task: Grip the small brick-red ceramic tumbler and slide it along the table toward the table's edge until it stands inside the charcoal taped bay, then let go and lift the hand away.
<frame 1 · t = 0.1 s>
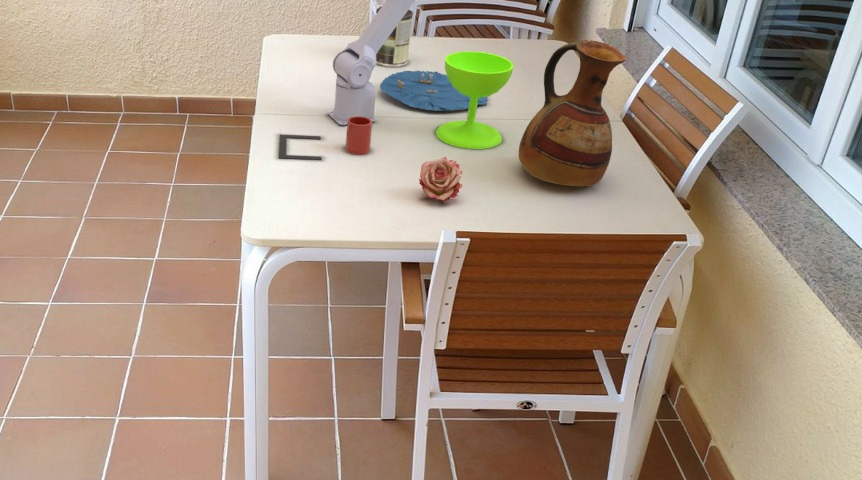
wineglass: (468, 136, 235), on the table
flower: (438, 199, 205), on the table
decorative plate: (430, 94, 258), on the table
tumbler: (357, 149, 224), on the table
ceramic pitcher: (559, 178, 217), on the table
tape bay: (305, 147, 223), on the table
coffee can: (390, 62, 278), on the table
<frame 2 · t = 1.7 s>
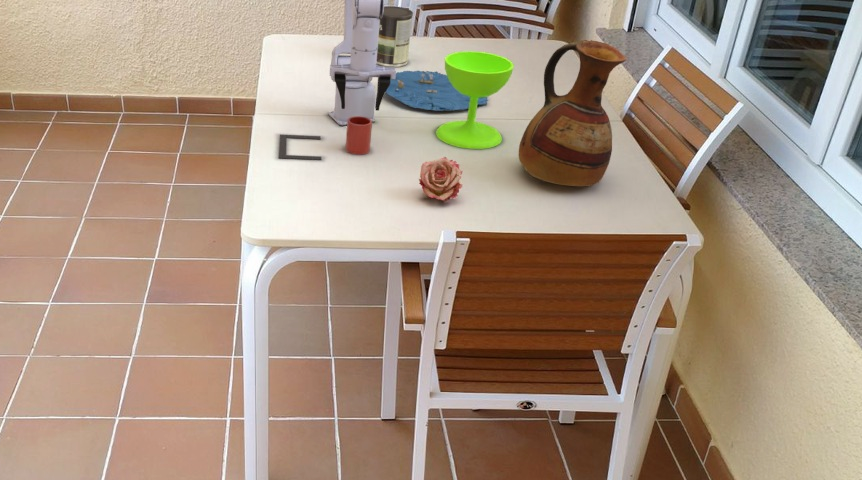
hand: (360, 108, 218), 10 cm above the table, tool pointing down, fingers open, 7 cm apart
nothing on the table moved.
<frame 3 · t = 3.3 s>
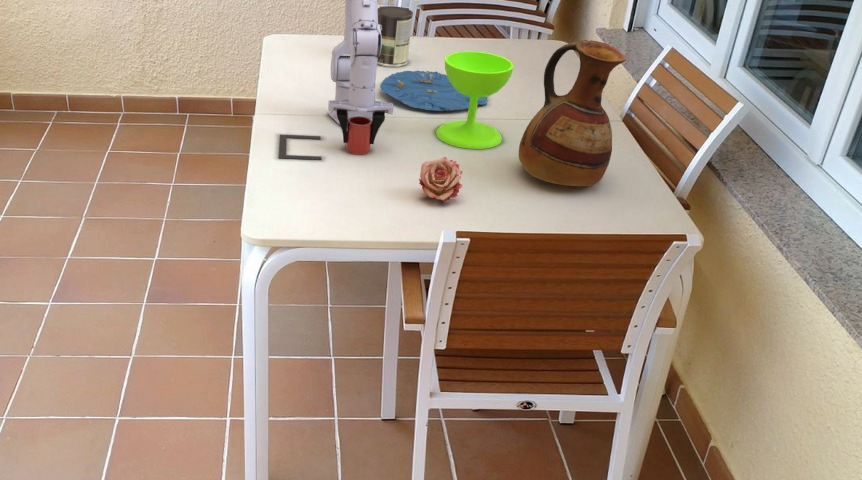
hand: (358, 142, 222), 2 cm above the table, tool pointing down, fingers closed on tumbler, 5 cm apart
tumbler: (357, 149, 224), on the table, touching gripper
everything else where it was.
when the fingers open (2 cm above the table, at t = 7.5 s): tumbler stays where it is, on the table.
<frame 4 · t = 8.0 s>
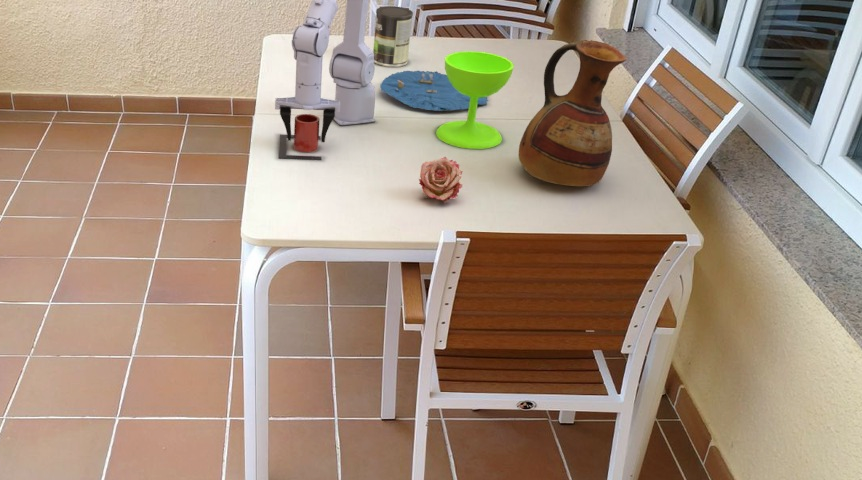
hand: (306, 139, 222), 2 cm above the table, tool pointing down, fingers open, 7 cm apart
tumbler: (305, 147, 223), on the table
everything else where it was.
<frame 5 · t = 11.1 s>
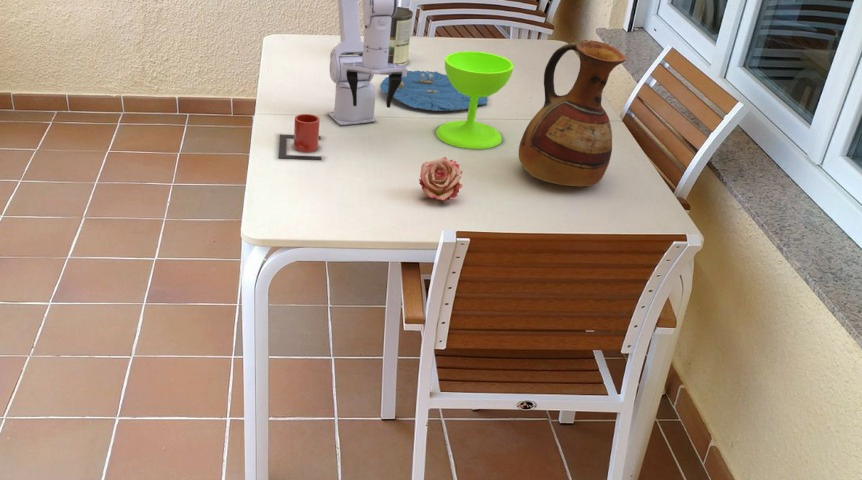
hand: (371, 105, 221), 9 cm above the table, tool pointing down, fingers open, 7 cm apart
nothing on the table moved.
at the end: tumbler 0.0 cm off-centre on the tape bay, point 0.0 cm above the tape bay's base; tumbler tilted 0°; the gripper is holding nothing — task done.
